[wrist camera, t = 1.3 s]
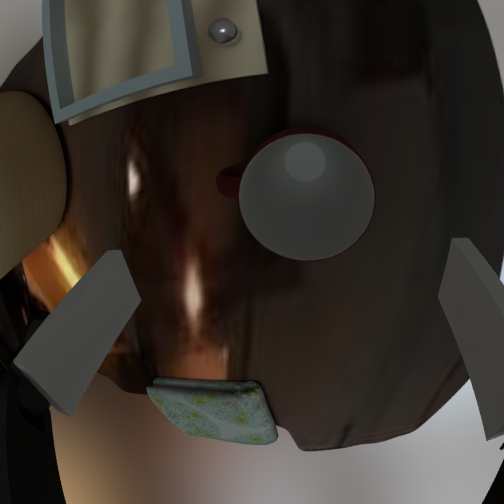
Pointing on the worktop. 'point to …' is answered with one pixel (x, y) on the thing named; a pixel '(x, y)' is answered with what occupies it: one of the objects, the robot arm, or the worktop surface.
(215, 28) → the peg
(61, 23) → the bay
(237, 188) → the mug
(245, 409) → the towel
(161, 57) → the board
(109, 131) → the worktop surface
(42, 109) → the planter
